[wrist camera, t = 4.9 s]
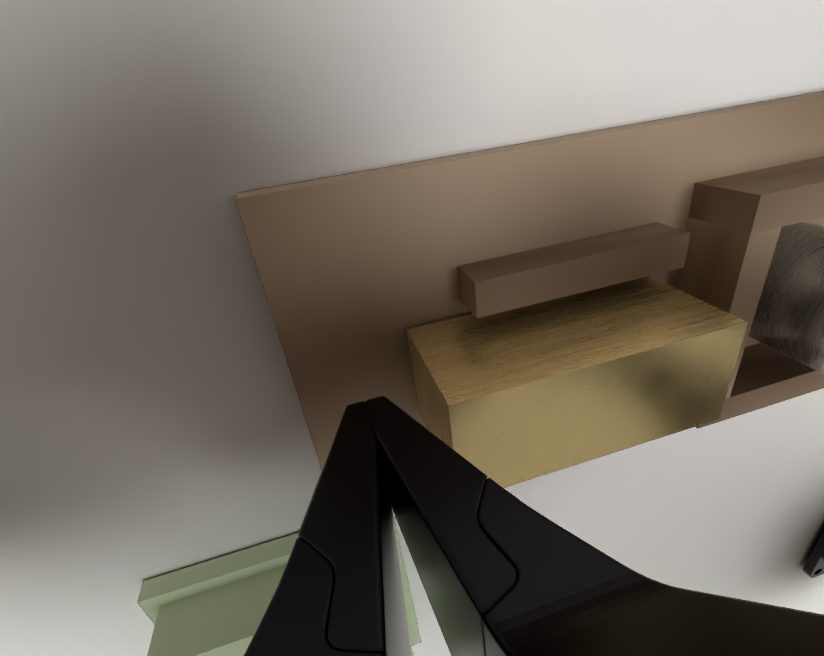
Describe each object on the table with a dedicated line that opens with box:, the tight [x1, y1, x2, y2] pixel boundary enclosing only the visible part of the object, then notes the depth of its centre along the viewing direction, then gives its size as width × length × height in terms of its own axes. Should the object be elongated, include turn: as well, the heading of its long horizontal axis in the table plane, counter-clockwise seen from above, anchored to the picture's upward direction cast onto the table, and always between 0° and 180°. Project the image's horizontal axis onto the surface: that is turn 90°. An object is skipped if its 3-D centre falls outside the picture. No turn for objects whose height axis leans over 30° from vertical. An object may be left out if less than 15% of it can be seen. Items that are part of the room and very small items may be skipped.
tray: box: [137, 517, 421, 656], centre depth 13 cm, size 7×7×2 cm
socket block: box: [235, 91, 824, 469], centre depth 11 cm, size 9×17×2 cm, turn 97°
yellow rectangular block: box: [406, 276, 748, 488], centre depth 9 cm, size 2×6×3 cm, turn 97°
